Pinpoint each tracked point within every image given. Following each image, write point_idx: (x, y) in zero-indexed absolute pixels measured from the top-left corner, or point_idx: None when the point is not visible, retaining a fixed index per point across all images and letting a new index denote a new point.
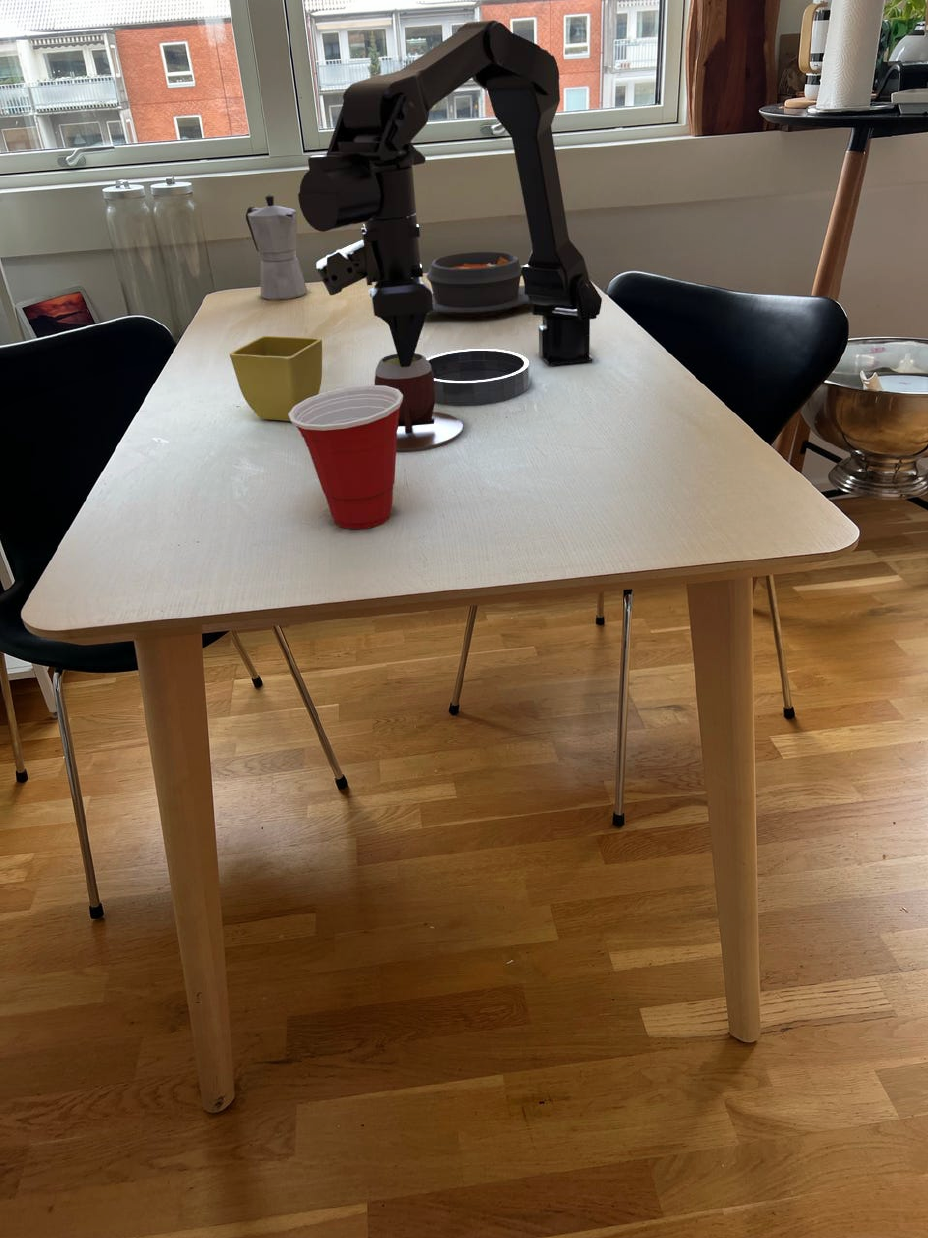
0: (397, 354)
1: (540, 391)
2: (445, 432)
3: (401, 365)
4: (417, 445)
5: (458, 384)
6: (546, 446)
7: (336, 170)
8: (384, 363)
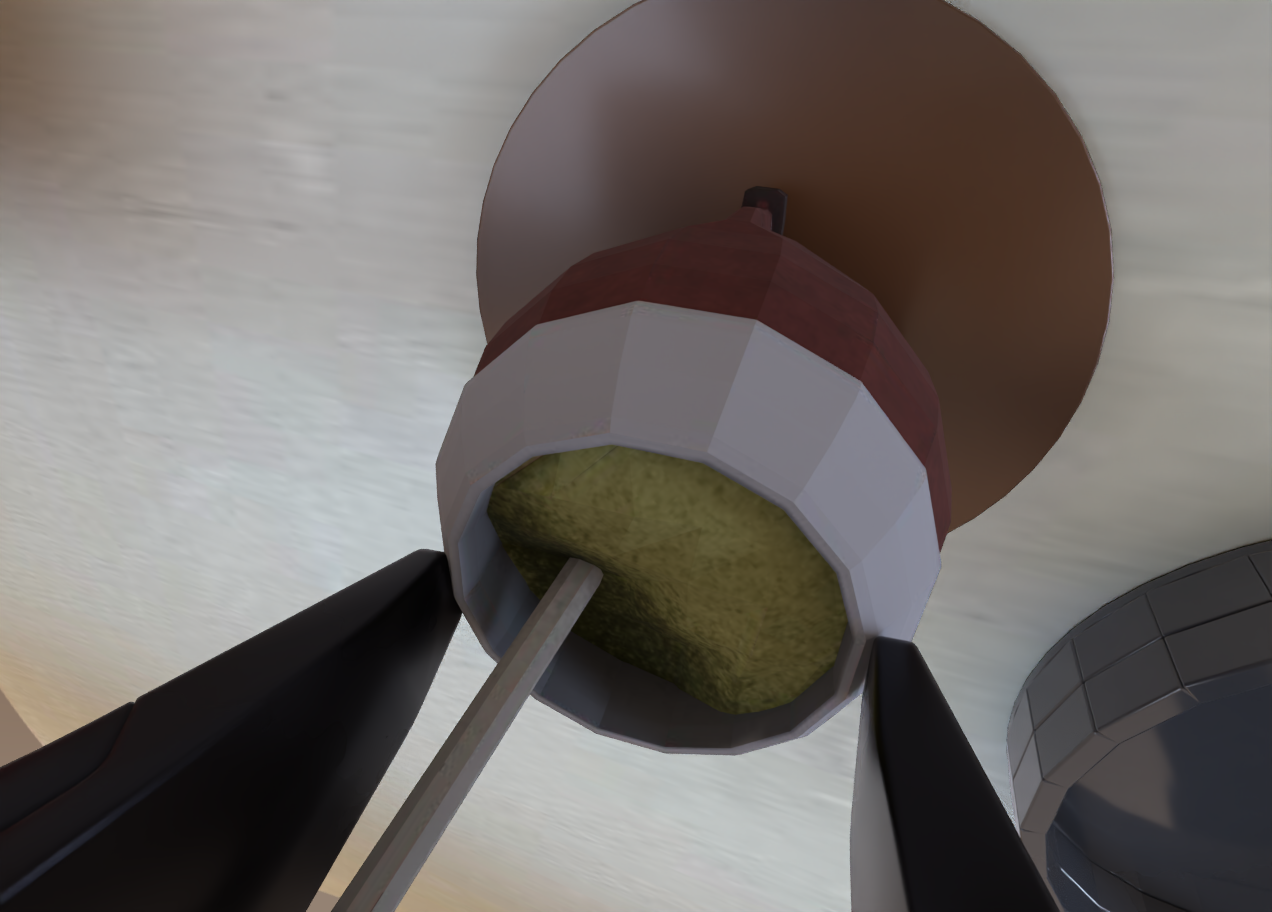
0: (311, 606)
1: None
2: None
3: (409, 555)
4: None
5: (1087, 726)
6: (479, 688)
7: None
8: (516, 446)
